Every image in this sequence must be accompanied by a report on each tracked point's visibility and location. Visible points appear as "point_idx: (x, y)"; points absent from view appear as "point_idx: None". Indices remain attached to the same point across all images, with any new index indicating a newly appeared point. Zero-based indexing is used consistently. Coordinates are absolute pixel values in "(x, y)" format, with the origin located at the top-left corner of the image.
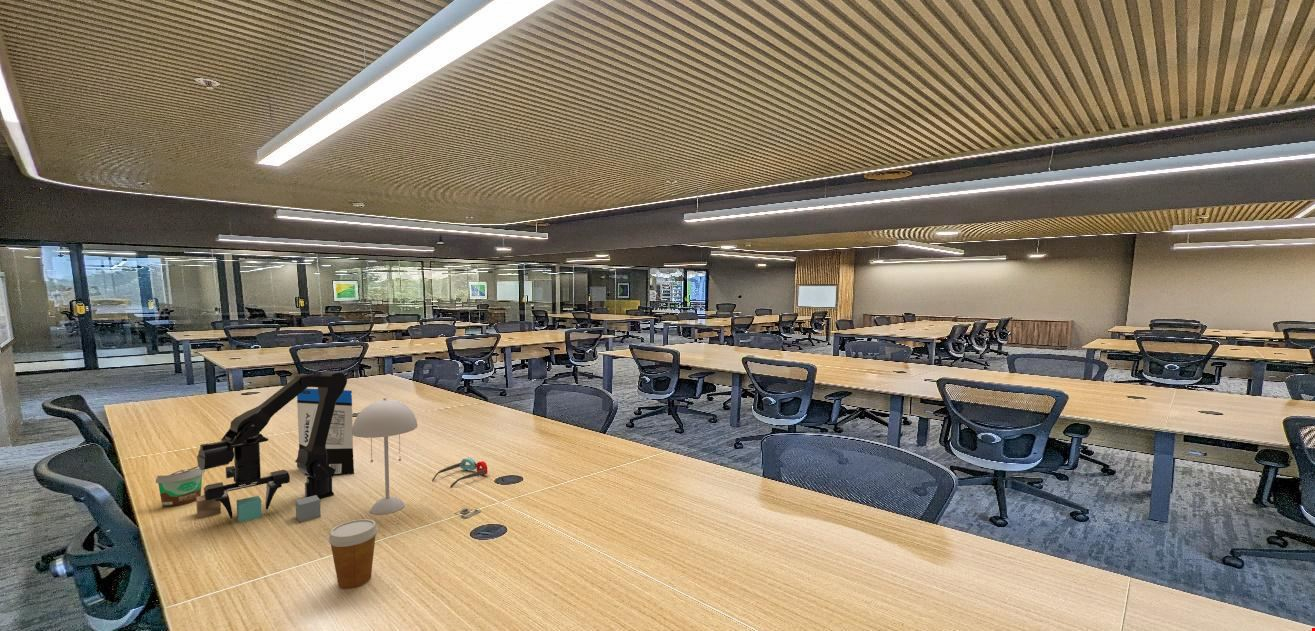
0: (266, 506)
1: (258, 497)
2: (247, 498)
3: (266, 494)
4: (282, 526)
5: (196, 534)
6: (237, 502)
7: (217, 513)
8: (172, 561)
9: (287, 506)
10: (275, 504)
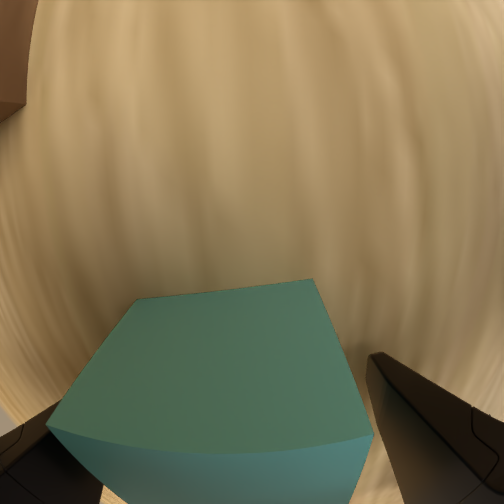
0: (376, 414)
1: (342, 488)
2: (181, 467)
3: (443, 471)
4: (358, 491)
5: (43, 403)
6: (105, 485)
7: (10, 112)
8: (101, 495)
9: (485, 281)
10: (445, 150)
